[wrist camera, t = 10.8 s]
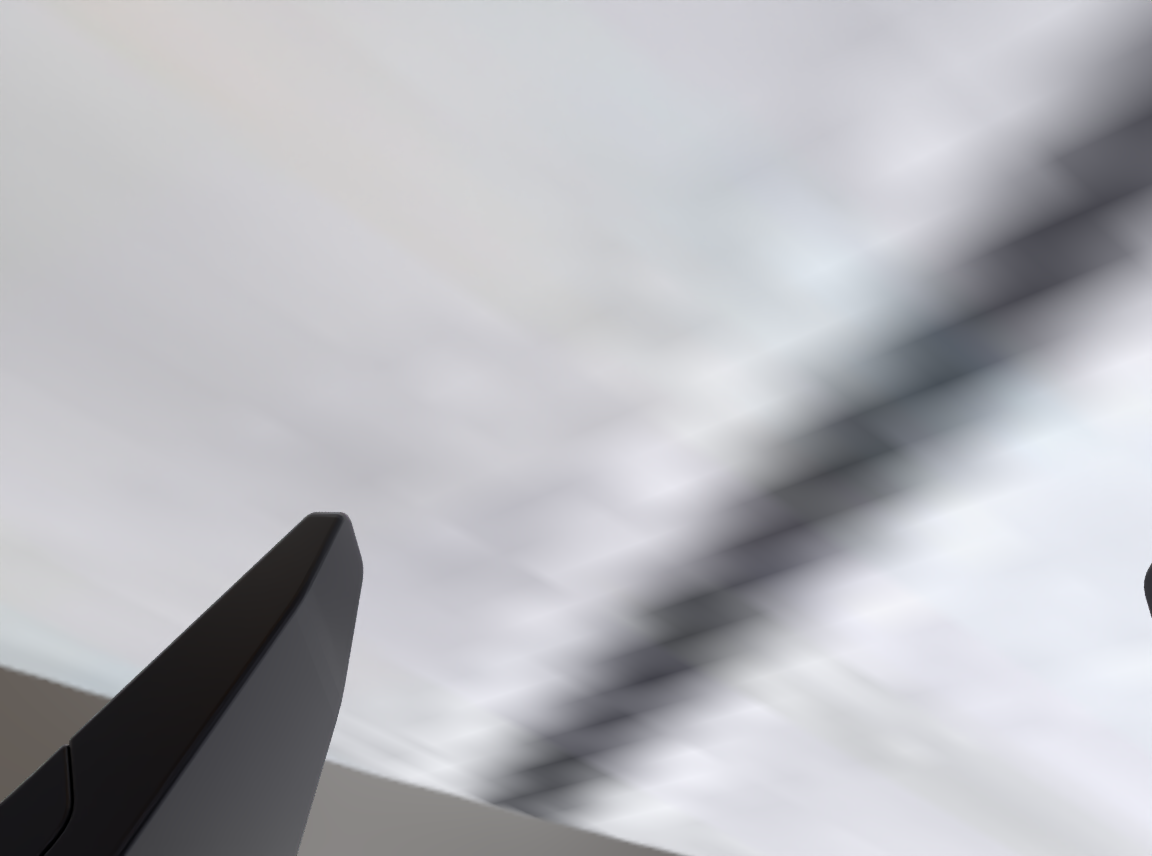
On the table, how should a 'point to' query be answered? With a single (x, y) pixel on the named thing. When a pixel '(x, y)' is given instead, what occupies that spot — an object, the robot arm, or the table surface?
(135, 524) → the table surface
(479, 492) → the table surface
